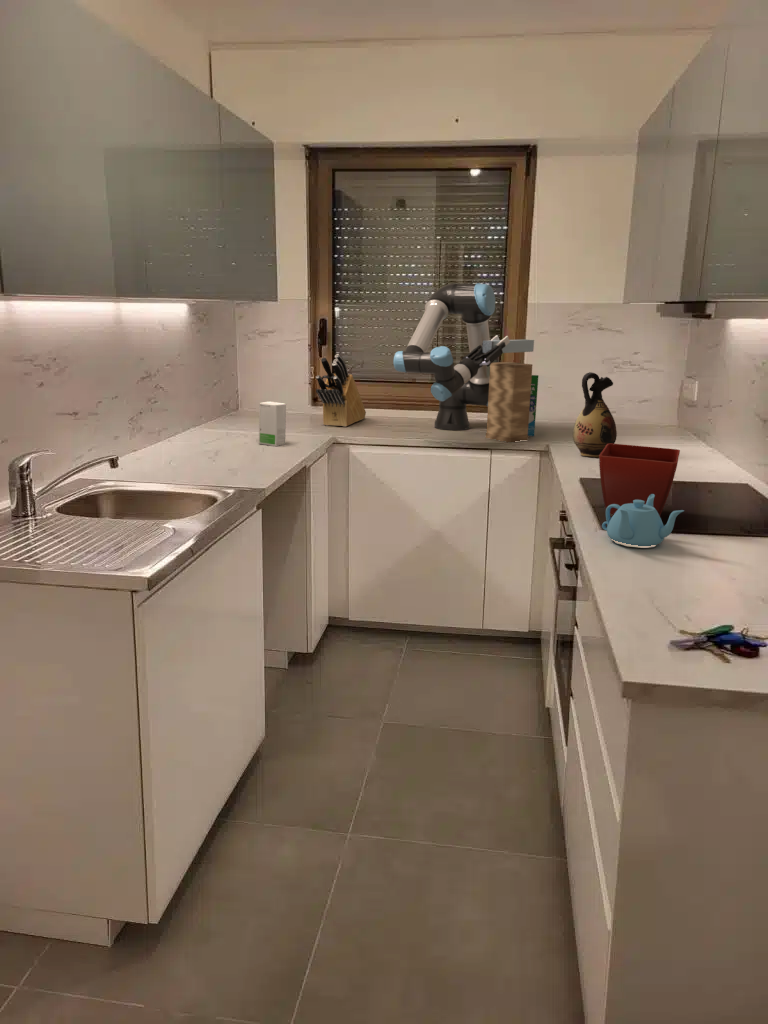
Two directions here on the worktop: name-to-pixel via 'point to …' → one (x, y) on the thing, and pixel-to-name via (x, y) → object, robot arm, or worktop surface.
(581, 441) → the ceramic jug
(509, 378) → the oak box
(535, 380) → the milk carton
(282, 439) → the skincare box
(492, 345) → the foil box
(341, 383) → the knife block
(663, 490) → the plant pot
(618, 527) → the teapot
